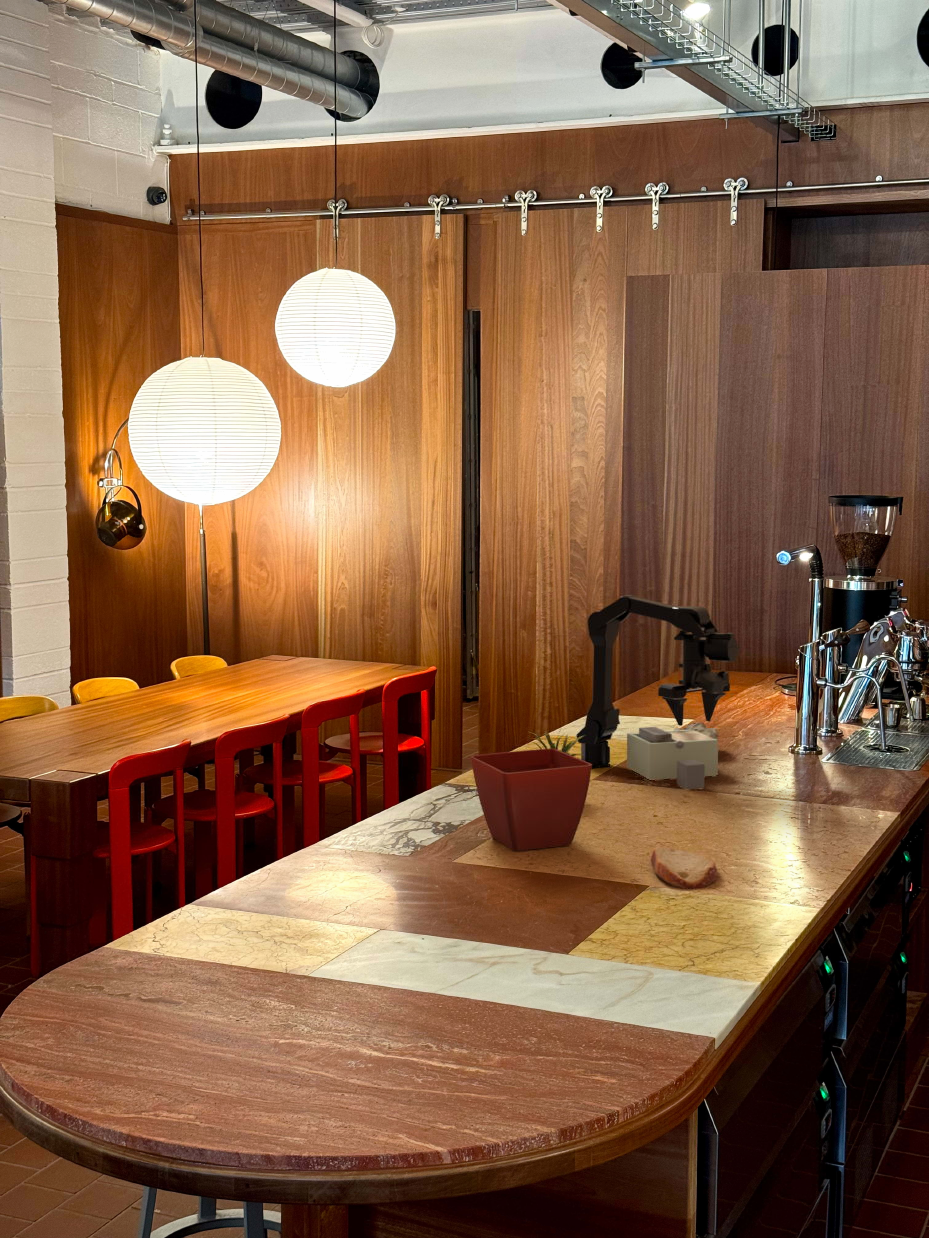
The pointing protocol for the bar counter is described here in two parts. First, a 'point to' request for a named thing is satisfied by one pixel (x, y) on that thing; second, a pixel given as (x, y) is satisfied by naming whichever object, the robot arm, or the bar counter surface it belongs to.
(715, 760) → the pale green open box
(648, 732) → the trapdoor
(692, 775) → the grey block
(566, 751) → the house plant
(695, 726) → the geode
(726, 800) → the bar counter surface
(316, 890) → the bar counter surface
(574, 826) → the plant pot
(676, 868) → the bread slice
